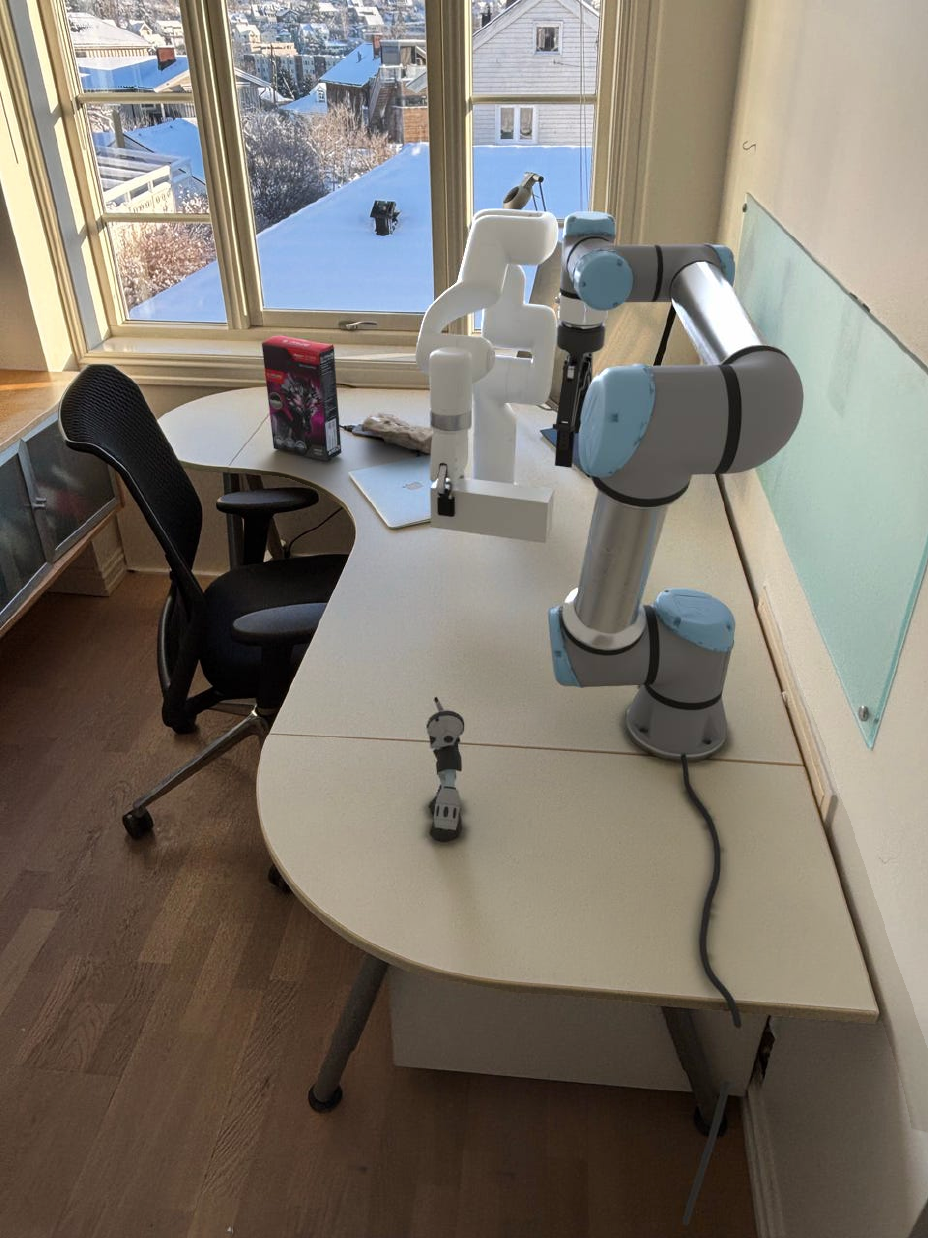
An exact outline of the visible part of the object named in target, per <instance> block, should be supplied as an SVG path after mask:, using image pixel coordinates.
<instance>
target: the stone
mask: <svg viewBox="0 0 928 1238" xmlns="http://www.w3.org/2000/svg"><path fill="white" fill-rule="evenodd" d="M360 430H361V432H363V433H365V432H371V433H373V435H374V436H376V437H378V438H382V439H383V441H384V442H385V443H388V444H392V443H394V444H395V445H398V446H400V447H404V448H406V449H410V450H416V451H417V450H418V451H420V452H422V453H426V454H431V444H432V435H433V429H432V428H431V427H430V426H422V425H417V424H409V423H408V422H406V421H404V420H400V419H399V417H397V416H396V417H395V416H394V415H393V414H388V413H384V412H379V413H377V414H369V415H368V416H366V419H365V420H364V421H363V423H362V425H361V427H360Z"/></svg>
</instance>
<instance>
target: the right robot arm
mask: <svg viewBox="0 0 928 1238" xmlns="http://www.w3.org/2000/svg"><path fill="white" fill-rule="evenodd" d="M615 239H617V235H616V219H615V217H613V216H612V215H611V214H609V213H607V212H602V211H592V210H586V211H585V210H583V211H575V212H571V213H570V214H568V215H567V216H566V217H565V218H564V225H563V232H562V236H561V243H562V244H561V247H562V248H561V260H560V261H561V262H560V263H561V264H560V282H559V283H560V284H559V291H558V292H559V294H558V296H556V297H555V299H554V302H555V304H558V305H559V306H558V309H557V318H558V319H559V321H557V332H556V346H557V348H559V349H560V350H562V351H565V352H567V353H568V354H567V355H566V359H564V361H563V365H562V378H561V379H562V380H561V386H560V392H559V400H558V406H557V413H556V420H555V423H552V430H555V431H556V443H555V455H554V466H555V467H562V468H569V469H570V468H571V469H572V467H573V460H574V450H575V449H574V448H575V447H574V446H575V436H576V434H578V437H577V438H578V439H577V441H578V445H577V446H578V447H577V448H578V458H579V462H580V466H581V469H582V470H583V471H584V473H586V474H587V475H588V476H589V477H590V480H591V482H592V484H593V485H594V487H595V488H596V489H597V490H596V495H595V500H594V506H593V510H592V516H591V519H590V525H589V526H590V527H589V530H588V534H587V535H588V536H587V541H586V544H585V545H586V546H585V551H584V556H583V561H582V565H581V570H580V574H579V575H580V576H579V581H578V586H577V587H576V588H575V589H573V590H571V592H570V593H569V594H567V597H566V598H565V600H564V602H563V605H557V606H554V607H551V608H550V609H548V612H547V613H548V614H547V615H548V617H547V618H548V630H549V631H548V632H549V642H550V643H549V644H550V651H551V652H550V653H551V660H552V661H551V662H552V668H553V669H552V670H553V674H554V679H555V681H556V682H557V683H558V684H559V685H560V686H562V687H575V688H577V687H578V688H581V689H584V688H595V687H597V688H598V687H621V686H622V687H624V686H637V688H636V689H638V691H637V692H636V694H635V695H634V697H633V699H632V701H631V702H630V704H629V706H628V708H627V712H626V719H625V728H626V732H627V734H628V736H629V738H630V739H631V741H632V742H634V744H636V745H637V746H638V747H639V748H640V749H641V750H643V751H645V752H646V753H648V754H650V755H651V756H654V757H656V758H659V759H662V760H666V761H670V762H675V763H681V768H682V778H683V783H684V787H685V789H686V792H687V794H688V795H689V798H690V799H691V801H692V802H693V804H694V805H695V806H696V808H697V809H698V811H699V812H700V813H701V815H702V816H703V818H704V820H705V822H706V825H707V827H708V829H709V832H710V836H711V839H712V844H713V873H712V877H711V882H710V884H709V888H708V890H707V894H706V896H705V899H704V904H703V907H702V908H703V909H702V915H701V916H702V917H701V924H700V928H699V929H700V930H699V942H698V943H699V945H698V946H699V955H700V959H701V963H702V967H703V970H704V972H705V974H706V976H707V978H708V980H709V981H710V982H711V983H712V985H713V986H714V987H715V988H716V990H717V991H718V992H719V993H720V994H721V996H722V997H723V998H724V1000H725V1001H726V1003H727V1005H728V1008H729V1009H730V1013H731V1016H732V1023H733V1025H734V1027H735V1028H736V1029H740V1028H742V1018H741V1015H740V1011H739V1007H738V1006H737V1005H738V1004H737V1003H736V1001H735V999H734V997H733V996H732V994H731V993H730V991H729V990H728V989H727V987H726V986H725V985H724V983H722V982H721V981H720V980H719V978H718V976H717V975H716V974H715V972H714V971H713V969H712V967H711V964H710V961H709V956H708V950H707V937H708V929H709V922H710V914H711V907H712V903H713V900H714V897H715V894H716V892H717V888H718V884H719V882H720V877H721V867H722V866H721V863H722V859H721V858H722V857H721V856H722V855H721V845H720V839H719V836H718V832H717V828H716V826H715V824H714V821H713V818H712V817H711V815H710V813H709V811H708V810H707V808H706V807H705V806H704V805H703V803H702V802H701V800H700V799H699V798H698V796H697V795H696V793H695V791H694V789H693V787H692V785H691V782H690V774H689V773H690V772H689V765H688V763H694V762H700V761H703V760H706V759H709V758H711V757H714V755H716V754H718V752H720V751H721V750H722V748H723V747H724V744H725V743H726V740H727V739H726V738H727V733H728V721H727V716H726V712H725V708H724V707H725V706H724V701H723V692H724V686H725V682H726V678H727V674H728V669H729V664H730V659H731V654H732V651H733V649H734V646H735V631H736V620H735V617H734V614H733V612H732V611H731V609H730V608H729V607H728V606H727V605H726V604H725V603H723V601H721V600H720V599H718V598H716V597H715V596H712V595H711V594H709V593H706V592H704V591H701V590H698V589H695V588H694V589H693V588H687V587H672V588H667V589H665V590H664V591H660V592H659V593H658V595H657V596H656V597H655V599H654V600H653V604H643V603H642V599H643V595H644V592H645V588H646V586H647V582H648V578H649V575H650V572H651V569H652V564H653V562H654V558H655V555H656V551H657V548H658V544H659V542H660V538H661V534H662V531H663V527H664V524H665V521H666V517H667V514H668V510H669V506H670V505H673V504H675V502H677V501H679V500H680V499H681V498H682V497H683V496H684V495H685V494H686V492H687V490H688V489H689V486H690V484H691V480H692V476H694V475H696V476H697V475H731V474H739V473H744V472H747V471H750V470H753V469H755V468H758V467H760V466H761V465H763V464H765V463H766V462H768V461H769V460H771V459H772V458H774V457H775V456H776V455H777V454H778V453H780V451H781V450H782V449H783V448H784V447H785V446H786V445H787V444H788V442H789V441H790V440H791V438H792V437H793V434H794V433H795V431H796V430H797V428H798V425H799V423H800V420H801V417H802V414H803V408H804V400H805V399H804V398H805V396H804V395H805V394H804V387H803V383H802V379H801V376H800V373H799V371H798V369H797V367H796V366H795V364H794V363H793V362H792V360H791V359H790V357H789V355H788V354H786V352H785V351H783V350H782V349H781V348H779V347H776V346H774V345H771V344H769V342H768V341H767V340H766V338H765V336H764V335H763V334H762V332H761V330H760V329H759V327H758V325H757V324H756V322H755V320H754V319H753V318H752V316H751V315H750V313H749V311H748V310H747V309H746V307H745V306H744V304H743V302H742V301H741V299H740V298H739V296H738V295H737V293H736V292H735V290H734V289H733V288H734V284H735V277H736V261H735V255H734V253H733V250H732V249H731V248H730V247H729V246H727V245H723V244H722V245H721V244H711V243H707V242H706V243H698V244H697V243H695V244H692V243H691V244H615ZM624 303H671V305H672V307H673V308H674V310H675V312H676V315H677V316H678V318H679V320H680V322H681V325H682V326H683V328H684V330H685V332H686V335H687V336H688V338H689V340H690V342H691V344H692V346H693V348H694V350H695V352H696V354H697V357H698V358H699V360H700V362H701V364H687V365H686V364H684V365H683V364H681V365H680V364H679V365H648V364H645V363H641V362H640V363H632V364H630V365H619V366H610V367H607V368H604V369H602V370H601V371H599V372H598V373H597V374H596V375H595V376H594V377H593V370H594V369H593V363H594V362H593V360H594V359H593V358H594V356H593V355H594V353H596V352H599V351H601V350H602V349H603V348H604V346H605V338H606V328H607V325H606V324H605V322H606V321H607V320H608V313H609V312H608V311H611V310H613V309H616V308H618V307H620V306H622V304H624ZM730 1086H731V1081H727V1080H725V1079H724V1080H722V1083H721V1087H720V1092H719V1097H718V1101H717V1105H716V1107H715V1108H716V1109H715V1113H714V1116H713V1120H712V1122H711V1123H712V1124H711V1126H710V1130H709V1134H708V1137H707V1141H706V1143H705V1146H704V1150H703V1153H702V1156H701V1159H700V1162H699V1166H698V1169H697V1172H696V1175H695V1179H694V1180H693V1185H692V1188H691V1191H690V1194H689V1198H688V1201H687V1204H686V1208H685V1211H684V1214H683V1219H682V1225H684V1226H686V1227H687V1226H689V1223H690V1221H691V1217H692V1213H693V1210H694V1206H695V1203H696V1200H697V1197H698V1194H699V1191H700V1188H701V1184H702V1182H703V1179H704V1175H705V1173H706V1169H707V1166H708V1163H709V1160H710V1157H711V1155H712V1151H713V1149H714V1145H715V1142H716V1138H717V1136H718V1132H719V1128H720V1126H721V1122H722V1118H723V1114H724V1112H725V1107H726V1103H727V1099H728V1094H729V1090H730Z"/></svg>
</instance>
